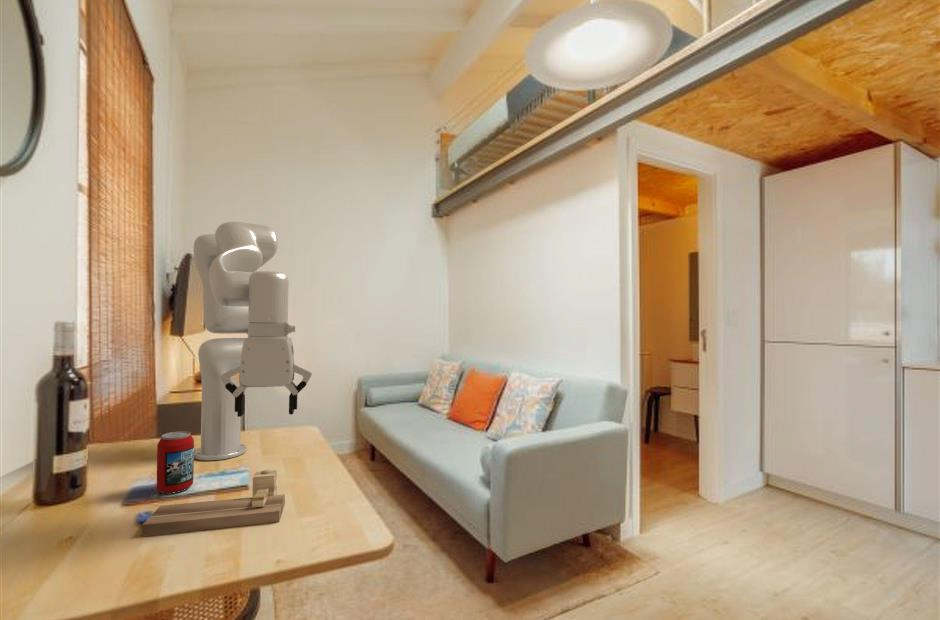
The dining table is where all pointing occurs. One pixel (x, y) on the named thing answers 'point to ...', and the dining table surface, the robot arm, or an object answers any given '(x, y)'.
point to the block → (263, 486)
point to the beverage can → (175, 462)
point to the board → (212, 515)
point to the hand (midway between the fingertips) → (266, 414)
